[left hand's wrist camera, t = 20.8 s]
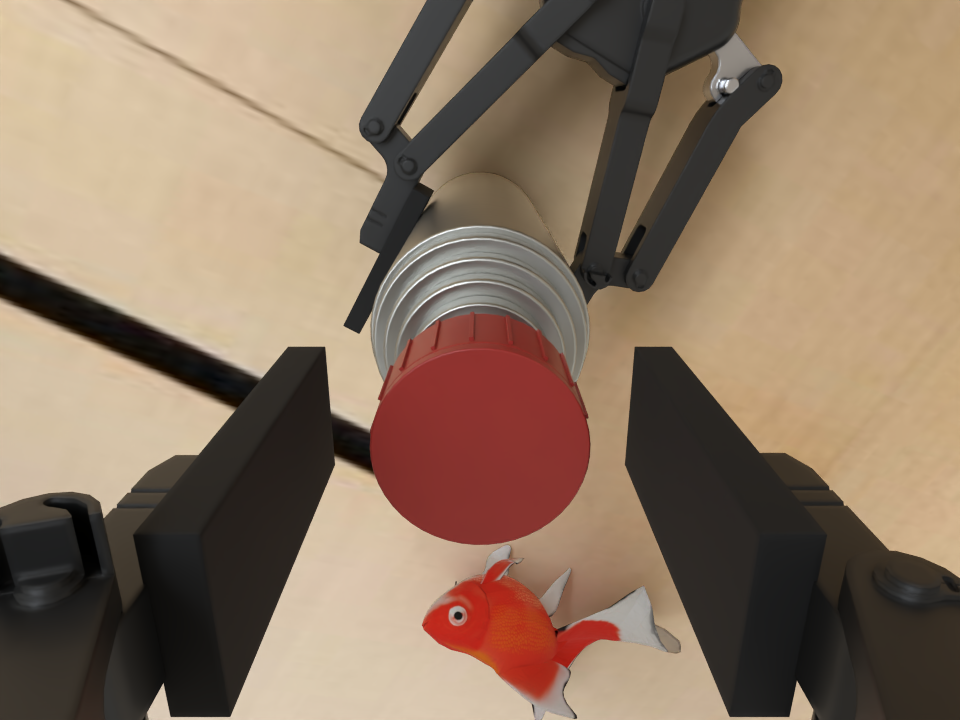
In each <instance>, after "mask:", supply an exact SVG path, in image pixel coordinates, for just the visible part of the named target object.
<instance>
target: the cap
mask: <svg viewBox="0 0 960 720" xmlns="http://www.w3.org/2000/svg"><path fill="white" fill-rule="evenodd" d="M378 400H380V403H379V406H378V409H377V412H376V415H375V418H374V421H373V423H372V426H371V429H370V433H371V438H370V454H371V462H372V466H373V471H374V474H375V476H376V479H377V482H378V484H379V486H380V488H381V489H382V491H383V493H384V495H385V496H386V498H387V499H388V500H389V502H390V503H391V504H392V506H393V507H394V508H395V509H396V510H397V511H398V512H399V513H400V514H401V515H402V516H403V517H404V518H406V519H407V520H408V521H409V522H411V523H412V524H413V525H415V526H417V527H418V528H420V529H421V530H423V531H425V532H427V533H429V534H431V535H434V536H436V537H439V538H442V539H445V540H448V541H452V542H457V543H462V544H472V545H489V544H497V543H504V542H508V541H512V540H516V539H519V538H521V537H524V536H527V535H529V534H531V533H533V532H535V531H537V530H539V529H541V528H542V527H544V526H545V525H547V524H548V523H550V522H551V521H552V520H554V519H555V518H556V517H557V516H558V515H559V514H561V513H562V511H563V510H564V509H565V508H566V507H567V506H568V505H569V504H570V502H571V501H572V500H573V498H574V497H575V495H576V494H577V492H578V490H579V488H580V486H581V484H582V482H583V480H584V477H585V474H586V472H587V468H588V463H589V458H590V435H589V428H588V424H587V420H586V419H587V418H588V414H587V411H586V408H585V405H584V403H583V400H582V397H581V394H580V392H579V389H578V386H577V383H576V382H574V381H573V378H572V376H571V373H570V370H569V367H568V364H567V361H566V358H565V356H564V354H563V353H559V352H558V350H557V349H556V348H555V347H554V345H553V344H552V343H551V342H550V341H549V340H547V339H546V338H545V337H544V336H543V335H542V332H541V331H540V330H539V329H537V331H536V330H535V329H533V328H531V327H530V326H528V325H526V324H524V323H522V322H519V321H517V320H514V319H512V318H510V316H509V315H506V316H505V317H504V316H500V315H493V314H474V312H470V314H468V315H460V316H456V317H453V318H449V319H446V320H443V321H441V322H440V320H437V321H436V323H435V324H434V325H432V326H431V327H429V328H427V329H426V330H424V331H423V332H421V333H420V334H419V335H417V336H416V337H415V338H414V339H413V340H412V339H411V338H410V339H409V340H408V342H407V345H406V347H405V348H404V350H403V351H402V352H401V354H400V355H399V356H398V358H397V360H396V362H395V363H394V365H393V366H392V365H390V367H389V370H388V372H387V375H386V378H385V381H384V383H383V386H382V389H381V392H380V395H379V397H378Z"/></svg>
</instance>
